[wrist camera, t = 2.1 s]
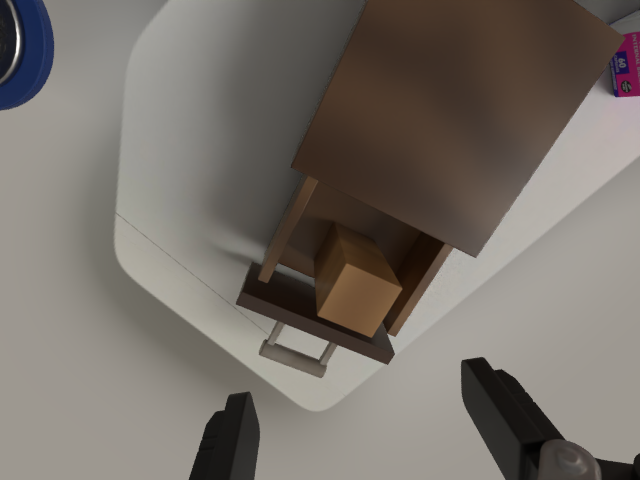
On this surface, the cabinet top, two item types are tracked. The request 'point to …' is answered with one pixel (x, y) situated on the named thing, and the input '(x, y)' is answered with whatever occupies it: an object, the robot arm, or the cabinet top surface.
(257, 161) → the cabinet top surface
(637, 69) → the supplement box
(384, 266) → the small box
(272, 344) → the drawer
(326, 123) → the cabinet
